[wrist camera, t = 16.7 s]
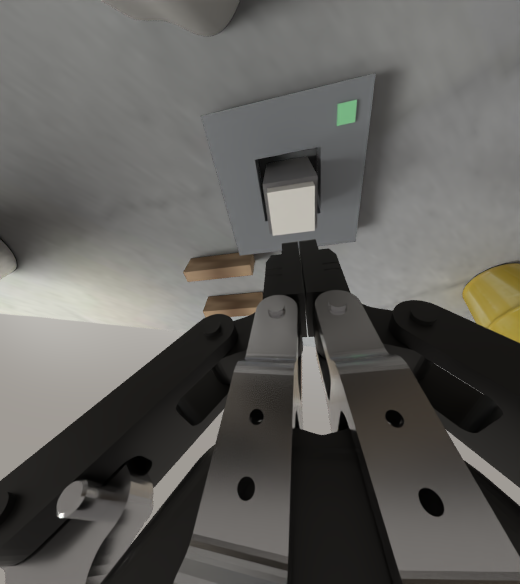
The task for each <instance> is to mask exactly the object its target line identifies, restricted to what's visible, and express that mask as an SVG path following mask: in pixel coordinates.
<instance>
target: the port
mask: <svg viewBox="0 0 520 584" xmlns="http://www.w3.org/2000/svg"><path fill="white" fill-rule="evenodd" d="M375 76H376V73H373V74H369V75H365V76H361V77H357V78H353V79H349V80H345V81H341V82H336V83H332V84H328V85H324V86H320V87H316V88H312V89H308V90H304V91H300V92H296V93H292V94H288V95H284V96H279V97H275V98H271V99H267V100H263V101H259V102H255V103H251V104H247V105H243V106H239V107H235V108H231V109H227V110H222V111H218V112H214V113H210V114H206V115H202V116H201V119H202V122H203V126H204V130H205V133H206V137H207V140H208V144H209V147H210V151H211V155H212V158H213V162H214V165H215V169H216V173H217V176H218V180H219V183H220V187H221V190H222V194H223V198H224V201H225V205H226V208H227V212H228V215H229V219H230V223H231V226H232V230H233V233H234V237H235V241H236V244H237V248H238V251H239V255H240V256H241V255H250V254H258V253H266V252H274V251H282V243H288V242H296V241H298V247H299V241H303V240H311V239H316V242H317V246H323V245H331V244H340V243H348V242H356V234H357V226H358V217H359V209H360V201H361V192H362V184H363V176H364V167H365V159H366V151H367V142H368V134H369V126H370V117H371V109H372V101H373V92H374V84H375ZM311 148H317V175H318V190H317V228H315V231H308V232H300V233H292V234H284V235H275V236H273V234H270V232H269V225H268V218H267V212H266V205H265V199H264V193H263V187H262V181H261V174H260V168H259V162H258V159H261V158H266V157H271V156H276V155H281V154H286V153H291V152H296V151H301V150H306V149H311Z"/></svg>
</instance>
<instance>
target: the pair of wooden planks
mask: <svg viewBox="0 0 520 584" xmlns="http://www.w3.org/2000/svg"><path fill="white" fill-rule="evenodd" d="M254 263H255V259H254V255H253V254H250V255H241V256H240V255H239V253H231V254H223V255H215V256H207V257H199V258H191V260H190V261H189V263H188V265H187V267H186V268H185V270H184V272H183V273H184V275H185V277H186V279H187V281H188V282H191V281H200V280H210V279H219V278H229V277H238V276H248V275H253V269H254ZM262 300H263V294H262V292H255V293H244V294H233V295H222V296H211V297H208V299H207V302H206V305H205V307H204V310H203V313H204V315H205V317H208V316H210V315H214V314H224V315H227V316H229V317H234V316H247V315H251V314H253V313H254V312H256V308H257V306H258V304H259V303H260V302H261V301H262Z"/></svg>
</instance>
